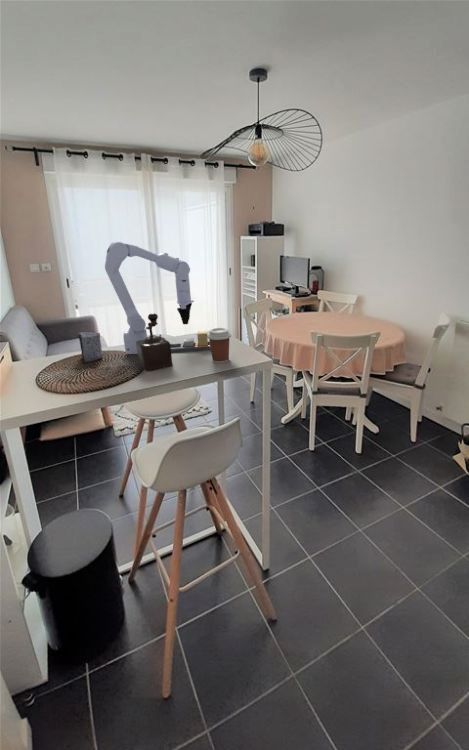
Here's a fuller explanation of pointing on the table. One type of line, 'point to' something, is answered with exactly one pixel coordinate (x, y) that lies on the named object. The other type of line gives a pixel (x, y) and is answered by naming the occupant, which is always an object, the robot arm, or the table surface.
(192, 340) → the zinc nut
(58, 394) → the table surface
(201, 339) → the yellow block
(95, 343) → the stone
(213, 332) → the coffee cup
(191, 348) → the rail
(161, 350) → the manual coffee grinder
